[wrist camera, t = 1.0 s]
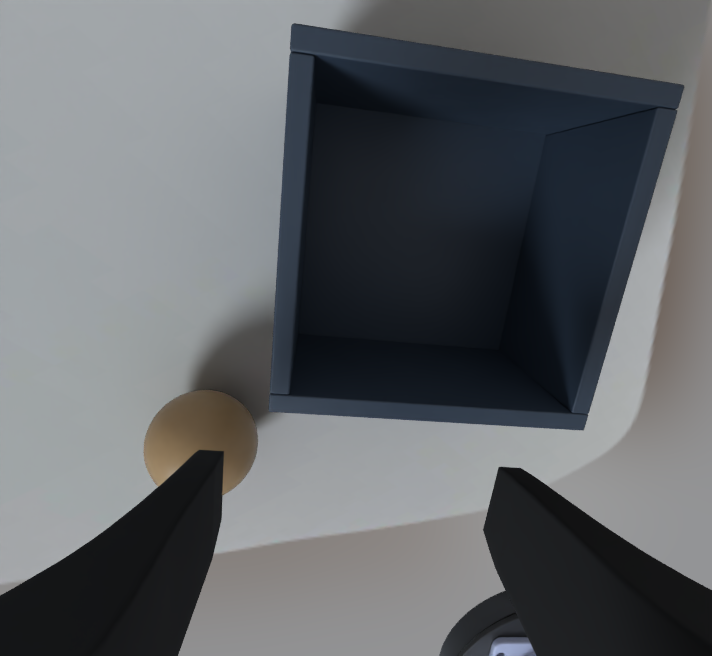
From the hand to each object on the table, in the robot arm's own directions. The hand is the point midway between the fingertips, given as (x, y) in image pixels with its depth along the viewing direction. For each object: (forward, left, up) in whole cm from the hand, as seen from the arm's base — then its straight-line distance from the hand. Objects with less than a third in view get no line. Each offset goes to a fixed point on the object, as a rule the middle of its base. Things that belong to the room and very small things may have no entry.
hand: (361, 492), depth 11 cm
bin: (+6, -2, -9) cm, 11 cm away
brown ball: (-3, +6, -9) cm, 11 cm away
